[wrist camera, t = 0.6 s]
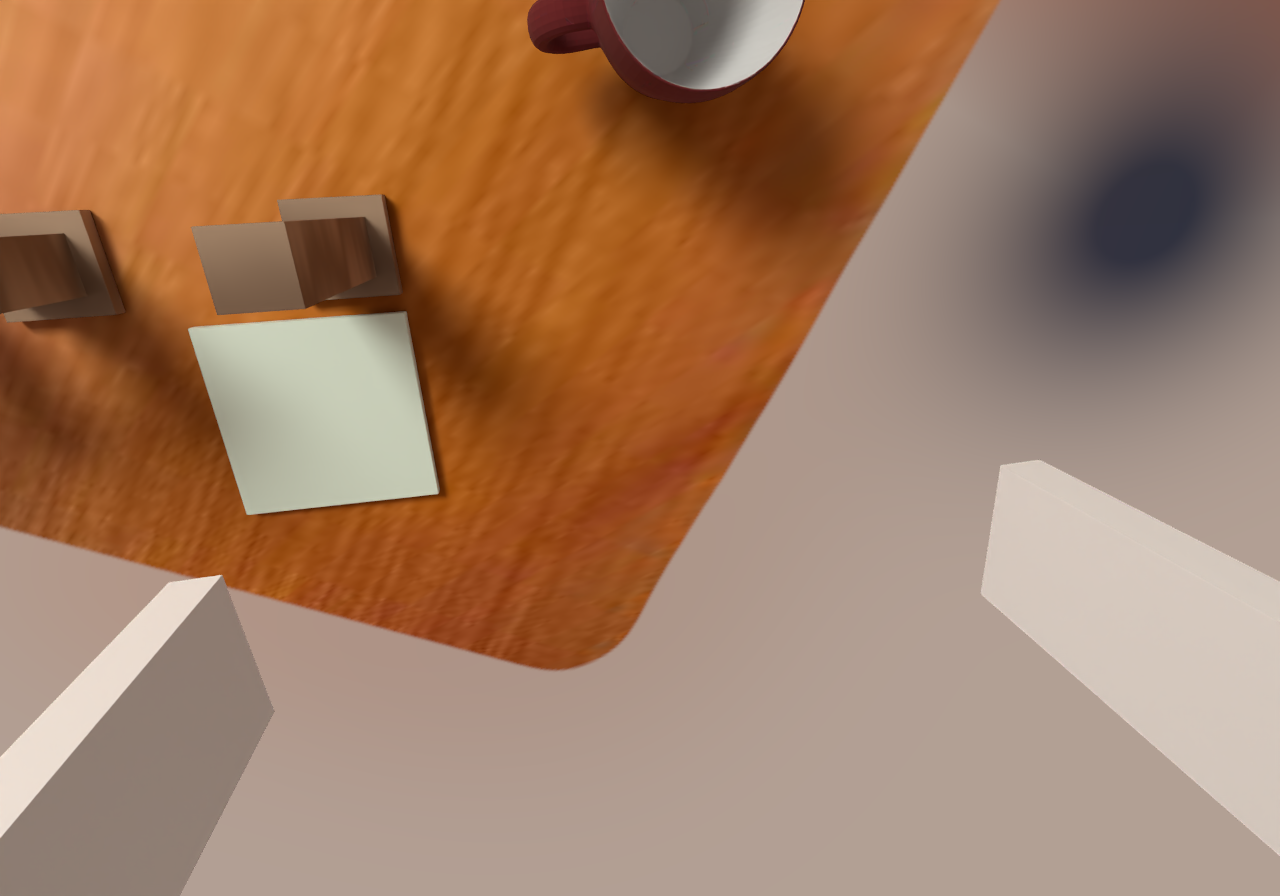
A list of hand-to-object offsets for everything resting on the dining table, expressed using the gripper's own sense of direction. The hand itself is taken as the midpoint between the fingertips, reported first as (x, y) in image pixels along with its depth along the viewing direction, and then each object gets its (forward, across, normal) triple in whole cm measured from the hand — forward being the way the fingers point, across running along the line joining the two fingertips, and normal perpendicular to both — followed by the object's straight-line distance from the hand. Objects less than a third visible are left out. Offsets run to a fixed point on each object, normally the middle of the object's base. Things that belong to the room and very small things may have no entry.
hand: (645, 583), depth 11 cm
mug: (+28, +5, +13) cm, 31 cm away
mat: (+28, -14, -4) cm, 31 cm away
